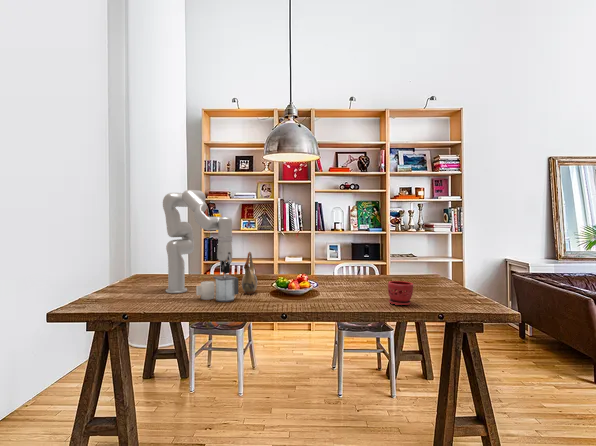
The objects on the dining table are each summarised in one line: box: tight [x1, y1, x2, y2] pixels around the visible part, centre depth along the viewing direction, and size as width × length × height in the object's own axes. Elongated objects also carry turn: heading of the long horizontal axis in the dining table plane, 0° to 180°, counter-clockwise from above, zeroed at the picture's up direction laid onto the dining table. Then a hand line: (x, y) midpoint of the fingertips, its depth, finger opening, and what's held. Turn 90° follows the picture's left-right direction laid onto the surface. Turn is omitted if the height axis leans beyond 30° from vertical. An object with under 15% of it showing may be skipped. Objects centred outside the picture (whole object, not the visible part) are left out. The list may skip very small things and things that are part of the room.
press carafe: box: [212, 274, 239, 303], centre depth 223 cm, size 10×13×13 cm
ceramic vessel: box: [241, 251, 258, 295], centre depth 240 cm, size 16×9×25 cm, turn 172°
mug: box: [195, 280, 215, 301], centre depth 226 cm, size 8×10×9 cm
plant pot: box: [387, 280, 414, 306], centre depth 215 cm, size 13×13×12 cm
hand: (225, 272), depth 221 cm, fingers closed on plunger, 3 cm apart
